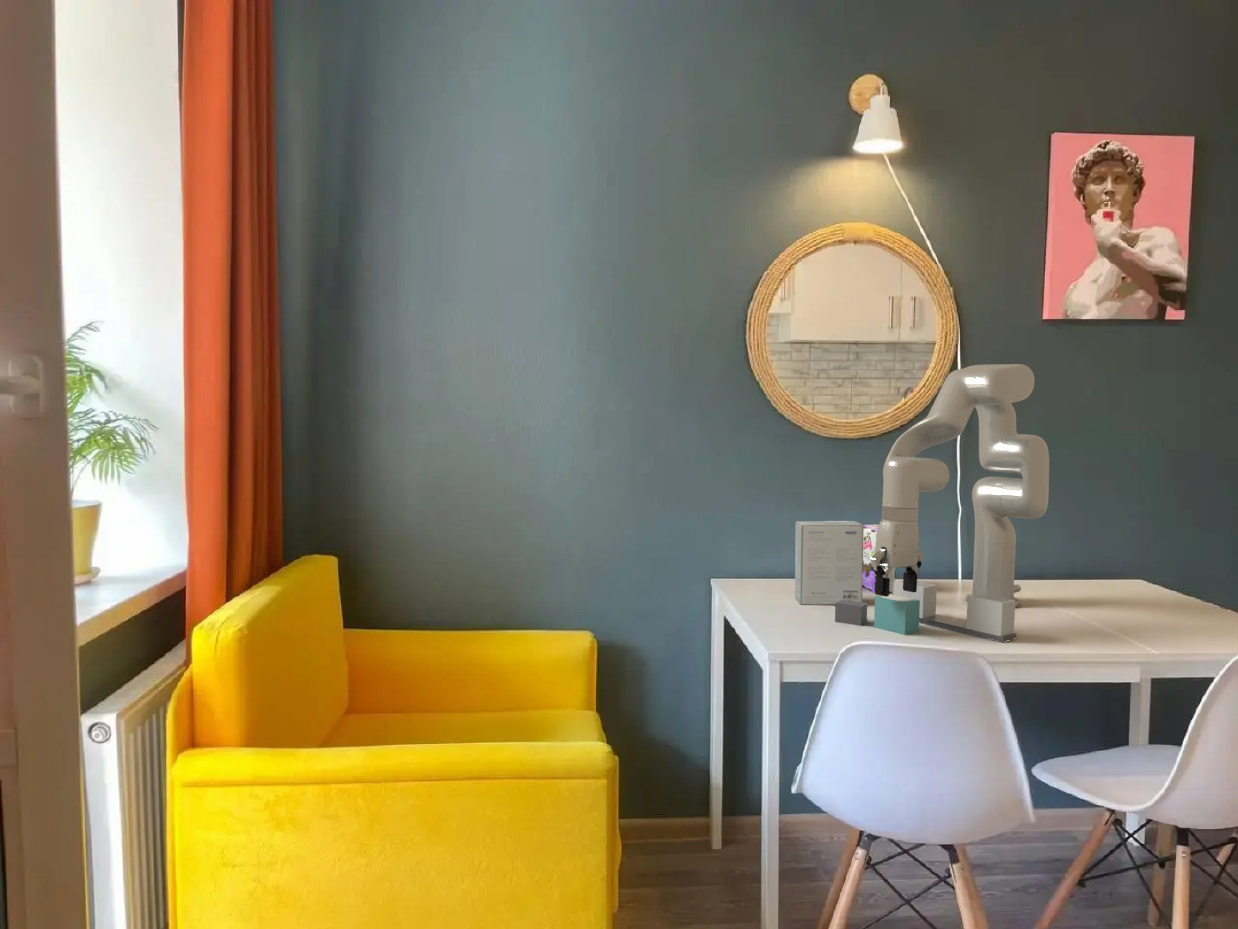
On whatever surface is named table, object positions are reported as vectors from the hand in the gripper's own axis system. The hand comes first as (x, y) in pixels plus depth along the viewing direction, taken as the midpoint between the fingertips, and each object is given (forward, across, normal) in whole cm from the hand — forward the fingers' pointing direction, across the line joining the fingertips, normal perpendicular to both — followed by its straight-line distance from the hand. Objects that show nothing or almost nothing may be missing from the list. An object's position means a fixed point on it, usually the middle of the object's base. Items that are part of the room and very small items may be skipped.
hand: (895, 593), depth 199 cm
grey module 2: (+7, -13, +15) cm, 21 cm away
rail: (+8, -13, +5) cm, 16 cm away
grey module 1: (+7, -13, -4) cm, 15 cm away
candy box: (+7, -34, -31) cm, 47 cm away
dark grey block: (+8, +2, -10) cm, 13 cm away
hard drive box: (+8, -10, -27) cm, 30 cm away
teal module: (+8, -1, 0) cm, 8 cm away
